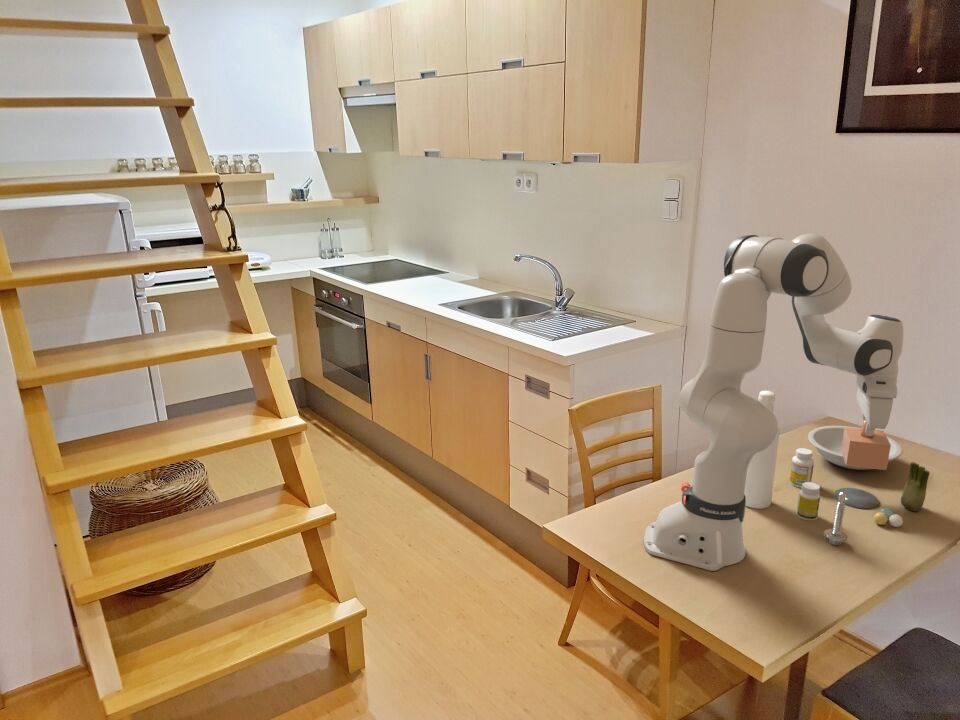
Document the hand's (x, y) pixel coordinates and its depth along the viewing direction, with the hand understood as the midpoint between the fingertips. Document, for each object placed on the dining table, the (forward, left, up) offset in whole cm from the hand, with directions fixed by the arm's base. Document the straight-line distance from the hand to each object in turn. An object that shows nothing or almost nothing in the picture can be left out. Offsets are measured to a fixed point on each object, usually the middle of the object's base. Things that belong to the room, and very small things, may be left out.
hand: (867, 431), depth 179 cm
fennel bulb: (+12, -1, -19) cm, 23 cm away
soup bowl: (+2, +23, -19) cm, 30 cm away
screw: (-8, -24, -19) cm, 32 cm away
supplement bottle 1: (-13, +5, -19) cm, 24 cm away
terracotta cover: (0, 0, -8) cm, 8 cm away
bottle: (-25, -9, -19) cm, 33 cm away
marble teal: (+5, -9, -19) cm, 22 cm away
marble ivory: (+7, -12, -19) cm, 23 cm away
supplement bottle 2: (-13, -13, -19) cm, 27 cm away
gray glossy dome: (0, 0, -19) cm, 19 cm away
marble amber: (+3, -12, -19) cm, 23 cm away
